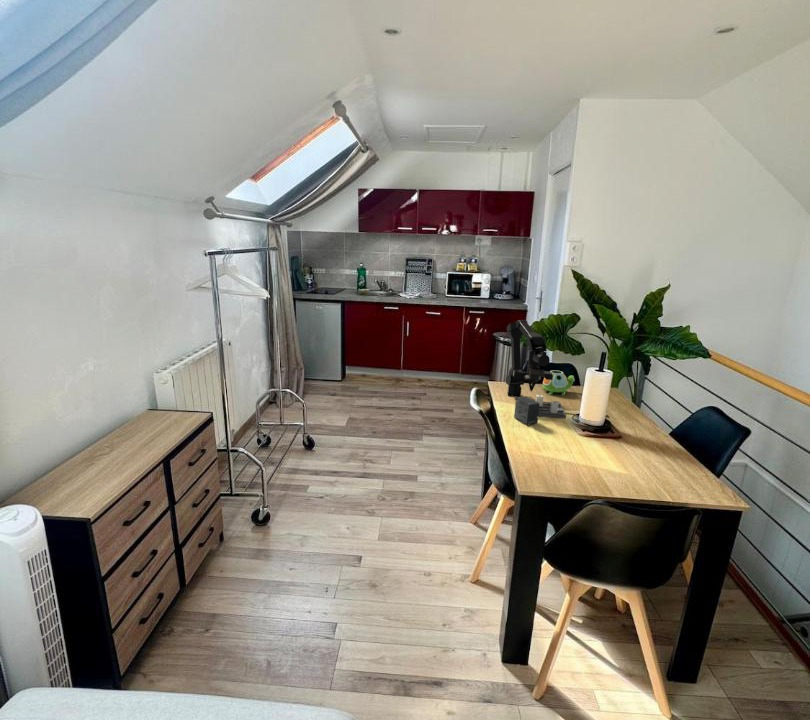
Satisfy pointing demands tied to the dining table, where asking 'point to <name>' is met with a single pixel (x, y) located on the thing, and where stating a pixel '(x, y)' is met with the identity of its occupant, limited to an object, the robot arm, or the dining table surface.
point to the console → (545, 412)
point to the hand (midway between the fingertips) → (531, 390)
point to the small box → (526, 410)
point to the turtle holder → (558, 383)
